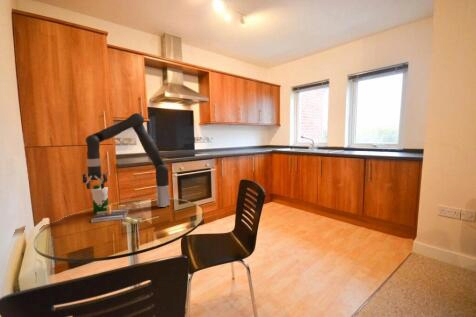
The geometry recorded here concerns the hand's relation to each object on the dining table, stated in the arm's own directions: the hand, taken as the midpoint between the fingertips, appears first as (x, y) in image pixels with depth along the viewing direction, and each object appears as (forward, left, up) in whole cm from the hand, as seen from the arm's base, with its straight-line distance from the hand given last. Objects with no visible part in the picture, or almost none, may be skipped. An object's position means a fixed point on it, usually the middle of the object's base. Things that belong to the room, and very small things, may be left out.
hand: (95, 188), depth 145 cm
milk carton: (+1, -11, -21) cm, 23 cm away
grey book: (-8, +2, -19) cm, 21 cm away
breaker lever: (-8, +2, -18) cm, 20 cm away
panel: (-9, +2, -20) cm, 22 cm away
